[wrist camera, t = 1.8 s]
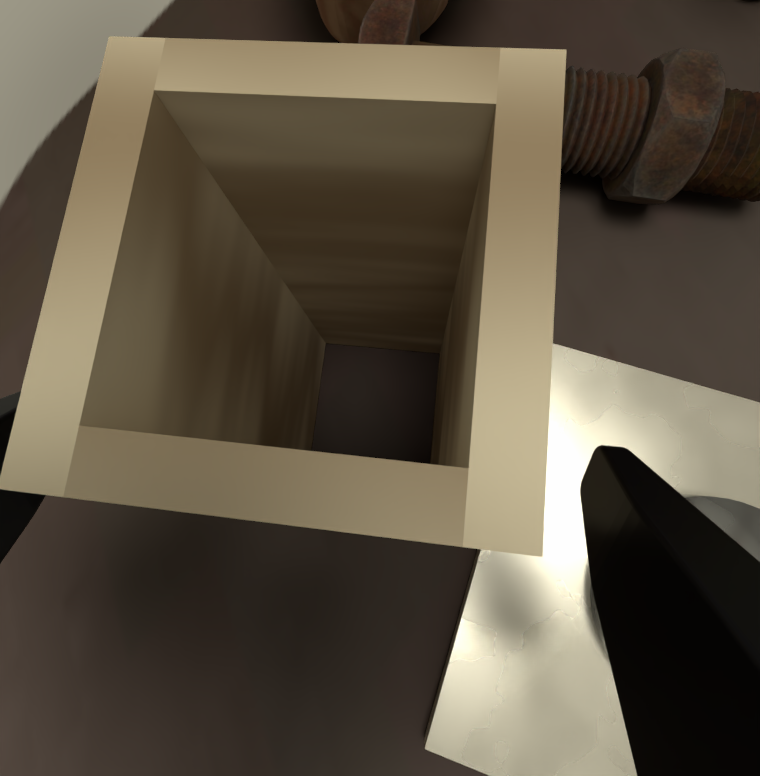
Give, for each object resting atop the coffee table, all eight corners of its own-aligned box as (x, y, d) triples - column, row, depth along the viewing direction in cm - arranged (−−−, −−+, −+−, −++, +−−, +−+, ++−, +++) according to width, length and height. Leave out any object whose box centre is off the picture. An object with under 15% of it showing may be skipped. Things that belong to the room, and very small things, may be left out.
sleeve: (449, 496, 16) (542, 556, 5) (286, 476, 17) (-3, 488, 5) (462, 334, 17) (566, 49, 6) (308, 321, 18) (109, 36, 6)
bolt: (713, 229, 20) (367, 174, 21) (766, 93, 18) (385, 41, 19) (817, 231, 14) (340, 156, 15) (909, 34, 12) (361, -35, 13)
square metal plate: (885, 925, 13) (1215, 1242, 8) (424, 737, 15) (430, 890, 10) (947, 462, 15) (1242, 458, 10) (535, 344, 17) (593, 284, 12)
